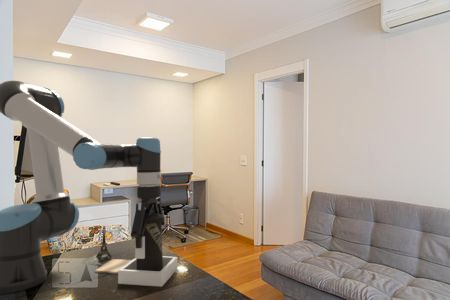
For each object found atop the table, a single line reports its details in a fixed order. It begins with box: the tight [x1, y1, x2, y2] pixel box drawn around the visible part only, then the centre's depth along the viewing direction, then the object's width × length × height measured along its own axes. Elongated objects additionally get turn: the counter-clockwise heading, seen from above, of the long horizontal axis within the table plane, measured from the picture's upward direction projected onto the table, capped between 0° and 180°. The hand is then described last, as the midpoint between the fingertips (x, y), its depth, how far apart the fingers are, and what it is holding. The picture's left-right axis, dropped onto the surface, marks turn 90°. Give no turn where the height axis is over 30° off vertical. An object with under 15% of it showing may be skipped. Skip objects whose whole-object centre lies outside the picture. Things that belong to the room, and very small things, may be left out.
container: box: [136, 213, 164, 271], centre depth 96 cm, size 9×9×20 cm
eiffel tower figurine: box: [82, 226, 113, 266], centre depth 113 cm, size 15×10×13 cm
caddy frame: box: [117, 255, 178, 287], centre depth 95 cm, size 14×14×4 cm
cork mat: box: [94, 258, 133, 275], centre depth 103 cm, size 11×11×1 cm
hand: (149, 251), depth 95 cm, fingers open, 13 cm apart
